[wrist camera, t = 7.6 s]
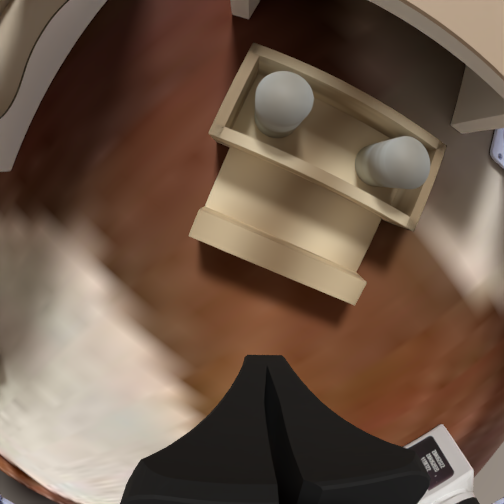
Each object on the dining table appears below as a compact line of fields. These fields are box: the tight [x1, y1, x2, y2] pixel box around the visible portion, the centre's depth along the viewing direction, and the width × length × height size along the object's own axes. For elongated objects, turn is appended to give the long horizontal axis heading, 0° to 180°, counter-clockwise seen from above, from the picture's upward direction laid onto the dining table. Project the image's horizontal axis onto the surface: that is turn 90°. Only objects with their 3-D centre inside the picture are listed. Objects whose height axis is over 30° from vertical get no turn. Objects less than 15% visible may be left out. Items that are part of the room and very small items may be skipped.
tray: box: [189, 43, 447, 305], centre depth 16 cm, size 12×11×5 cm
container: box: [404, 424, 479, 504], centre depth 18 cm, size 8×8×13 cm
